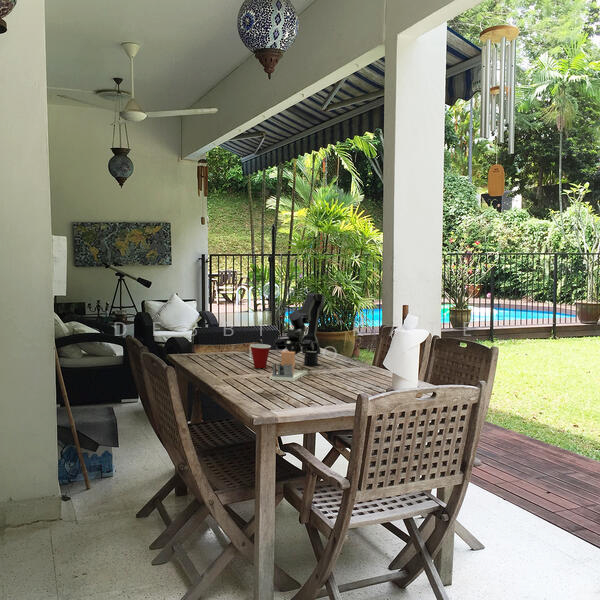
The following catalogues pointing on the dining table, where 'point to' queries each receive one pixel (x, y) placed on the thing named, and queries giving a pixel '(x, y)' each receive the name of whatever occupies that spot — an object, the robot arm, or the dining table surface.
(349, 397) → the dining table surface
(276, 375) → the connector and comb
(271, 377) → the cord board
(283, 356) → the marker sleeve
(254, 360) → the plastic cup
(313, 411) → the dining table surface
